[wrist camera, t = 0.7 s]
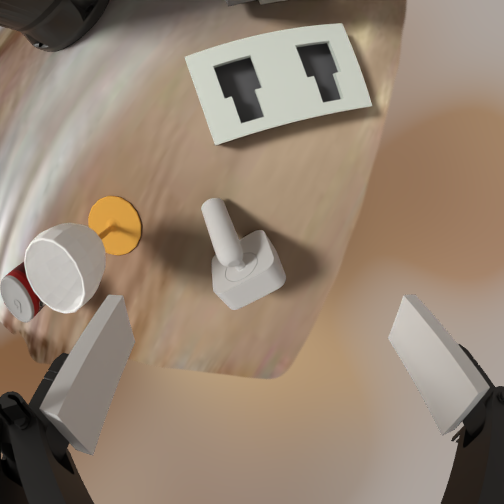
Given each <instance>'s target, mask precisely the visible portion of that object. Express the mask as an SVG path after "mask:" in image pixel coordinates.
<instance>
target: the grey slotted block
mask: <svg viewBox="0 0 504 504" xmlns="http://www.w3.org/2000/svg"><path fill="white" fill-rule="evenodd" d="M249 1H254V0H226V2H227V5H228V6H232V5H236V4H240V3H244V2H249Z"/></svg>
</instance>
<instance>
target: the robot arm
mask: <svg viewBox="0 0 504 504" xmlns="http://www.w3.org/2000/svg"><path fill="white" fill-rule="evenodd" d="M108 1H109V0H0V26H2V27H6V28H10V29H13V30H17V31H20V32H21V33H22V34H23V35H24V36H25V37H26V38H27V39H28V40H29V42H30V43H31V44H32V45H33V46H34V47H36V48H38V49H41V50H44V51H48V52H53V51H58V50H61V49H63V48H65V47H67V46H69V45H71V44H72V43H74V42H75V41H77V40H78V39H79V38H81V37H82V36H83V35H84V34H85V33H86V32H87V31H88V30H89V29H90V28H91V27H92V26H93V25H94V24H95V23H96V21H97V20H98V19H99V17H100V16H101V15H102V13H103V11H104V10H105V8H106V6H107V3H108ZM388 339H389V341H390V342H391V344H392V345H393V347H394V349H395V350H396V352H397V354H398V355H399V357H400V359H401V361H402V362H403V364H404V366H405V367H406V369H407V371H408V373H409V374H410V376H411V378H412V380H413V381H414V383H415V385H416V387H417V389H418V390H419V392H420V394H421V396H422V398H423V399H424V401H425V403H426V405H427V407H428V409H429V411H430V413H431V415H432V417H433V418H434V420H435V422H436V424H437V426H438V428H439V430H440V432H441V434H442V435H444V434H446V433H448V432H451V431H453V430H455V428H456V427H457V426H458V425H459V424H460V423H461V422H463V424H464V426H463V427H462V428H461V429H460V431H458V432H457V433H456V434H455V436H453V438H452V440H451V441H454V440H455V439H456V438H457V437H458V436H459V435H460V436H459V439H458V440H457V441H456V442H457V443H458V446H457V451H456V455H455V459H454V463H453V467H452V471H451V474H450V478H449V481H448V484H447V487H446V490H445V493H444V496H443V499H442V502H441V504H504V387H503V386H498V387H495V386H494V385H493V383H492V382H491V380H490V379H489V378H488V376H487V375H486V374H485V372H484V371H483V369H482V368H481V367H480V365H478V363H477V361H476V360H475V359H473V357H472V355H471V354H470V353H469V351H468V350H467V349H466V348H464V347H463V346H461V345H460V344H457V342H456V341H455V340H454V339H453V337H452V336H451V335H450V334H449V333H448V331H447V330H446V329H445V328H444V327H443V325H442V324H441V323H440V322H439V321H438V319H437V318H436V317H435V316H434V315H433V314H432V313H431V311H430V310H429V309H428V308H427V307H426V306H425V305H424V304H423V302H422V301H421V300H420V299H419V298H418V297H417V296H416V295H415V294H411V295H403V298H402V301H401V304H400V307H399V311H398V313H397V316H396V319H395V321H394V324H393V327H392V329H391V332H390V334H389V337H388ZM134 343H135V340H134V336H133V333H132V329H131V325H130V322H129V318H128V314H127V310H126V306H125V302H124V298H123V296H121V295H108V296H107V297H106V299H105V300H104V302H103V303H102V305H101V306H100V308H99V309H98V310H97V312H96V313H95V315H94V316H93V318H92V319H91V321H90V322H89V324H88V325H87V327H86V328H85V330H84V332H83V333H82V335H81V336H80V338H79V339H78V341H77V343H76V344H75V346H74V347H73V349H72V351H71V352H70V354H66V353H62V354H61V355H60V356H59V357H57V358H56V359H55V360H54V361H53V363H52V364H51V366H50V368H49V369H48V370H49V371H48V372H47V373H46V374H45V376H44V379H43V380H42V381H41V383H40V385H39V386H38V388H37V390H36V392H35V394H34V395H33V397H32V399H31V401H30V403H29V405H28V404H27V403H26V402H25V400H24V399H23V398H22V396H20V395H19V394H18V393H16V392H13V391H12V392H7V393H5V394H3V395H2V396H1V397H0V504H94V502H93V501H92V499H91V497H90V495H89V493H88V491H87V489H86V487H85V485H84V483H83V481H82V480H81V477H80V475H79V473H78V471H77V469H76V466H75V464H74V461H73V459H72V457H71V454H70V452H69V451H68V449H67V447H68V445H69V443H70V444H71V445H72V446H73V447H74V448H75V449H76V450H78V451H81V452H84V453H87V454H90V455H93V454H94V451H95V448H96V445H97V441H98V438H99V435H100V432H101V429H102V426H103V423H104V421H105V418H106V415H107V412H108V409H109V406H110V404H111V401H112V398H113V396H114V393H115V390H116V388H117V385H118V382H119V380H120V377H121V375H122V372H123V369H124V367H125V365H126V362H127V360H128V357H129V355H130V353H131V350H132V348H133V345H134ZM1 453H2V454H3V457H2V459H1Z"/></svg>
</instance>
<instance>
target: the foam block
mask: <svg viewBox="0 0 504 504" xmlns="http://www.w3.org/2000/svg"><path fill="white" fill-rule="evenodd" d="M279 1H286V0H259V3H260V5H261V4H267V3H273V2H279Z"/></svg>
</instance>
